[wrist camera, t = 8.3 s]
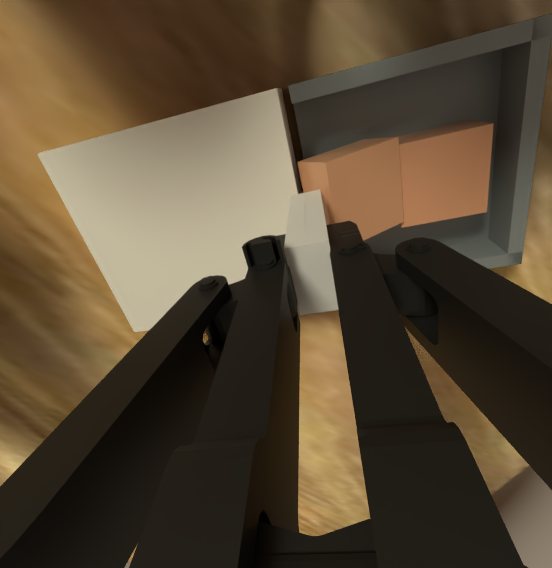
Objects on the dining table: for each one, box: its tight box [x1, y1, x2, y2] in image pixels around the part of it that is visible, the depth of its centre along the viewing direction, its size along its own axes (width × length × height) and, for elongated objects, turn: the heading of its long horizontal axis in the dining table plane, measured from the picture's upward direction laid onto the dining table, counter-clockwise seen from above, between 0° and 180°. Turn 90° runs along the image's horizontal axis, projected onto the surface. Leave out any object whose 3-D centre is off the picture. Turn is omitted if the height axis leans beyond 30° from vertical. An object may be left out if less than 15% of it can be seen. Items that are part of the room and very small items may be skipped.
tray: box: [288, 13, 552, 269], centre depth 19 cm, size 12×12×3 cm
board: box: [37, 88, 302, 332], centre depth 21 cm, size 13×12×4 cm
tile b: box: [398, 120, 494, 228], centre depth 19 cm, size 4×4×2 cm
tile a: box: [298, 137, 404, 241], centre depth 18 cm, size 4×4×2 cm
